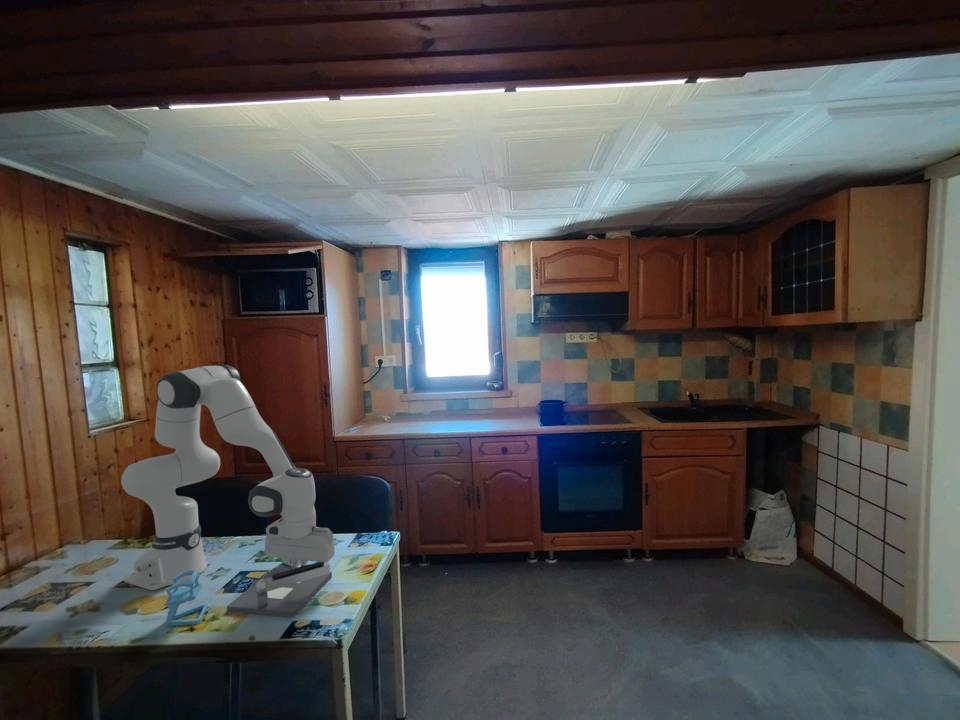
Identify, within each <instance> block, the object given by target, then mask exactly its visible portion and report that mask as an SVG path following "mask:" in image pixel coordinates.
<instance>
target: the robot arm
mask: <svg viewBox="0 0 960 720" xmlns="http://www.w3.org/2000/svg"><path fill="white" fill-rule="evenodd" d="M241 379H242V378H241V376H240V373H239V372H238V370H237V369H236V368H235V367H233V366H232V365H228V364H216V365H203V366H197V367H194V368H188V369H185V370H181V371H173V372H169V373H166V374H164V375H162V376H161V377H160V378H159V380H158V381H157V384H156V389H155V391H156V396H157V398H158V401H157V406H156V413H155V425H154V426H155V429H154V438H155V440H156V442H157V443H158V444H160V445H161V446H163V447H165V448H169V449H175V450H174V452H173V453H169V454H164V455H158V456H154V457H149V458H145V459H143V460H140V461H137V462H134V463H132V464H129V465H128V466H127V467H126V468H125V469H124V471H123V473H122V475H121V479H120V481H121V486H122V489H123V490H124V491H125V493H126V494H128V495H129V496H132V497H135V498H138V499H139V500H142V501H143V502H145V503H146V504H147V505H148V506H149V507H150V509H151V511H152V515H153V519H154V525H155V526H154V527H155V534H153V535H151V536H149V537H148V538H149V539H148V541H152V543H151V546H150V547H148V548H147V549H146V550H145V551H144V552H142V554H140V555H139V556H138V557H137V558H136V559H135V561H134V566H133V567H134V569H133V571H132V572H130V573H129V574H127V576H126V577H125V578H124V583H125V584H129V585H132V586H137V587H140V588H142V589H147V590H150V591H156V590H159V589H162V588H164V587H165V588H166V587H168V586H172V585H173V584H174V581H173V579H172V578H174V577H177V576H179V575H180V574H182V573H184V572H186V571H199V572H200V574H201V573H203V572H204V571H205V570H206V569H207V567H208V562H207V555H206V554H205V550H204V545H203V540H202V537H201V536H202V528H201V524H200V522H199V508H198V507H199V506H198V503H197V501H196V500H195V499H194V498H192V497H188V496H185V495H184V496H183V495H177V494H176V493H177V492H176V489H178V488H181V487H185V486H188V485H189V486H190V485H192V484H193V485H194V484H196V483H200V482H202V481H205V480H207V479H210V478H211V477H213V476H215V475H216V474H217V473H218V472H219V470H220V466H221V456H220V455H219V453H217V451H216V450H214V449H213V448H211V447H208V445H206V444H204V442H203V441H202V439H201V434H200V427H201V426H200V423H201V411H202V405H203V406H205V407H207V408H208V410H209V413H210V415H211V418H212V420H213V423H214V425H215V427H216V429H217V432H218V433H219V436H221V438H222V439H223V440H224V441H225V442H226V443H229V444H232V445H235V446H243V447H249V448H252V449H254V450H257V451H258V452H260V454H261V455H262V457H263V458H264V460H265V462H266V463H267V465H268V467H269V468H270V470H271V472H272V475H273V476H272V477H270V478H269V479H266V480H264V481H262V482H260V483H258V484H257V485H256V486H254V487H252V488H251V490H250V491H249V493H248V497H247V498H248V499H247V502H248V506H249V509H250V510H251V512H252V513H253V514H254V515H256V516H257V517H262V518H265V517H266V518H267V517H274V516H278V515H280V516H281V518H280V519H277V520H275V521H273V522H272V523H270V524H269V525H268V526H267V527H266V528H265V532H266V534H267V535H266V537H265V541H264V552H265V555H267V557H270V558H277V559H278V558H279V559H282V558H286V559H291V562H292V564H293V567H294V568H298V567H301V566H305V565H308V564H307V563H308V562H309V561H310V562H315V563H316V562H329V561H330V560H331V559H332V558H334V556H335V553H336V552H335V551H336V550H335V544H334V533H333V531H331V530H330V529H329V528H328V527H321V526H317V513H316V512H317V511H316V509H315V502H316V485H315V479H314V475H313V473H312V471H310V470H308V469H306V468H302V467H296V465H295V464H294V463H293V461H292V459H291V458H290V456H289V454H288V452H287V451H286V449H285V447H284V445H283V444H282V442H281V440H280V439H279V437H278V435H277V434H276V432H275V431H274V430H273V429H272V427H270V426H269V425H268V424H267V422H265V421H264V419H263V418H262V416H261V415H260V413H259V411H258V409H257V407H256V404H255V402H254V400H253V398H252V397H251V395H250V393H249V392H248V389H247V388H246V386H245V385H244V384H243V382H242V380H241ZM299 560H300V561H299ZM190 577H191V575H187V576H184V577H182V578H180V579H178V580H177V582H178V581H181V580H185V579H189V578H190Z"/></svg>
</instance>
